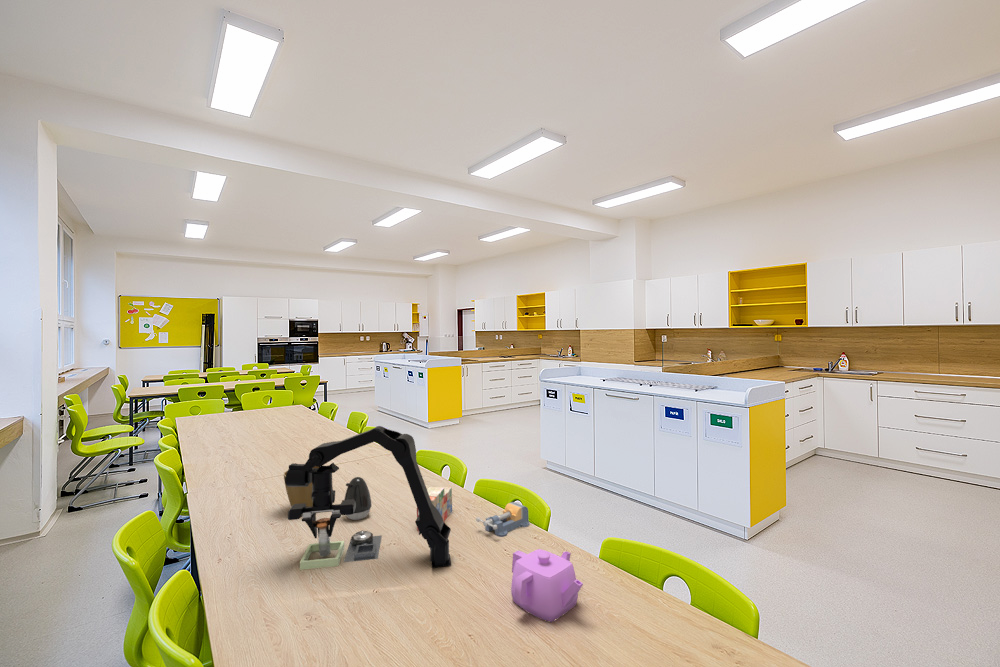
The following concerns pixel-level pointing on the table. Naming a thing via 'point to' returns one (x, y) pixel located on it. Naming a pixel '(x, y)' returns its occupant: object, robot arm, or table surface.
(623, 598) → the table surface
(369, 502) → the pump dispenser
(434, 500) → the stack of blocks
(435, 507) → the robot arm
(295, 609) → the table surface
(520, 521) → the vise
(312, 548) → the tray
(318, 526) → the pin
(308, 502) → the plant pot
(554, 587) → the teakettle
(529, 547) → the table surface
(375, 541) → the tensioner
